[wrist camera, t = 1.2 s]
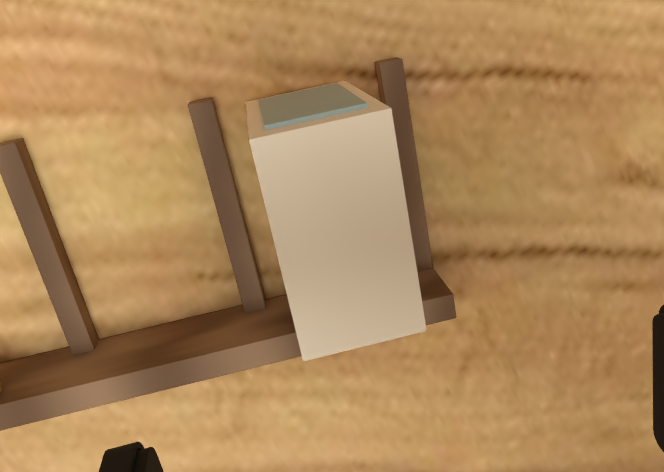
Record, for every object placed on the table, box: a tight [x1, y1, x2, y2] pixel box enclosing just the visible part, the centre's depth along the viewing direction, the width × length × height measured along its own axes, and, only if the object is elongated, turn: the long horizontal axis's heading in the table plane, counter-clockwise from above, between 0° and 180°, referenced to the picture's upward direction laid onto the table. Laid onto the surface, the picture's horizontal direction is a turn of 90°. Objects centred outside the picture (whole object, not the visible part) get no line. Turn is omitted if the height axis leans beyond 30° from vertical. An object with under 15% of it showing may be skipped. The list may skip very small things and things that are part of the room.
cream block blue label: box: [246, 80, 427, 361], centre depth 25 cm, size 4×8×9 cm, turn 11°
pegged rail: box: [0, 57, 456, 430], centre depth 27 cm, size 26×11×4 cm, turn 101°
